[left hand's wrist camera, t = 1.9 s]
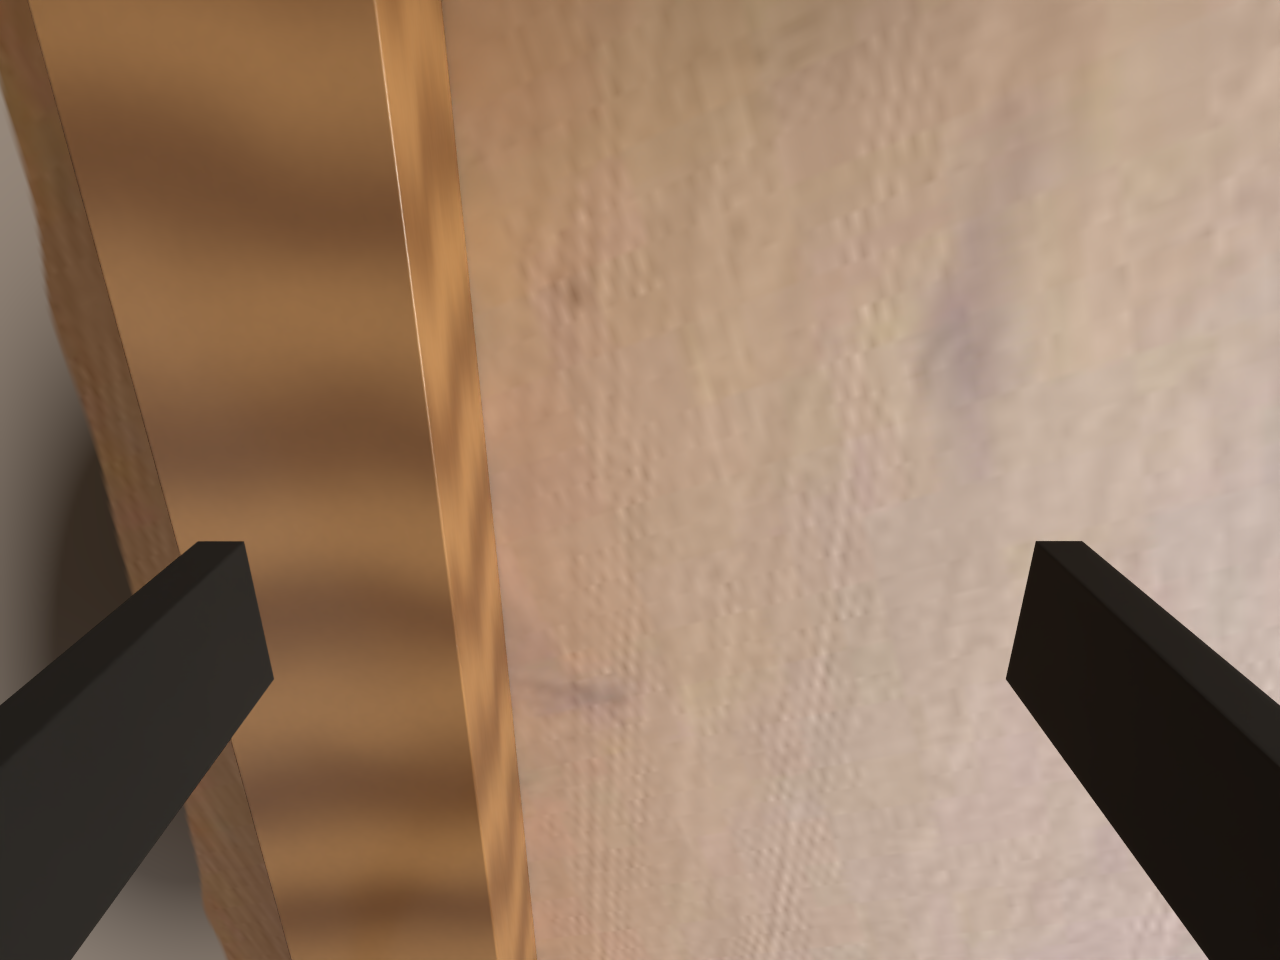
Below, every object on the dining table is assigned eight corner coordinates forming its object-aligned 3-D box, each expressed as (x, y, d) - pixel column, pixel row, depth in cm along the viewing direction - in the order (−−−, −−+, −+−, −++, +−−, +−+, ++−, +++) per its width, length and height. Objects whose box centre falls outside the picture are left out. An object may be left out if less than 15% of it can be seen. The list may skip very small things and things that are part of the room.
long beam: (144, -167, 24) (-59, -307, 17) (424, -173, 24) (335, -317, 17) (408, 1088, 48) (369, 1245, 41) (549, 1086, 48) (534, 1243, 41)
